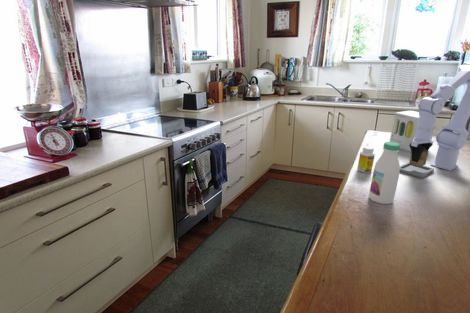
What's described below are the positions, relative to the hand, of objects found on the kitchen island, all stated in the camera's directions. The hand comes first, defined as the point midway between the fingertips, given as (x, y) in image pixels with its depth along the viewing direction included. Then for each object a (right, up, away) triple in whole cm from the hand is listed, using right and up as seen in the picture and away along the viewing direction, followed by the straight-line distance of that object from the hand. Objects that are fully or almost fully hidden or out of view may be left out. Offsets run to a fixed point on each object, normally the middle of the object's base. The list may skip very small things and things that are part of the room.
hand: (417, 160), depth 130 cm
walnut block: (0, -1, 0) cm, 2 cm away
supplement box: (+14, +6, +33) cm, 37 cm away
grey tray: (0, -5, +2) cm, 5 cm away
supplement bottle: (-21, -5, +1) cm, 22 cm away
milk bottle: (-26, -13, -23) cm, 37 cm away
